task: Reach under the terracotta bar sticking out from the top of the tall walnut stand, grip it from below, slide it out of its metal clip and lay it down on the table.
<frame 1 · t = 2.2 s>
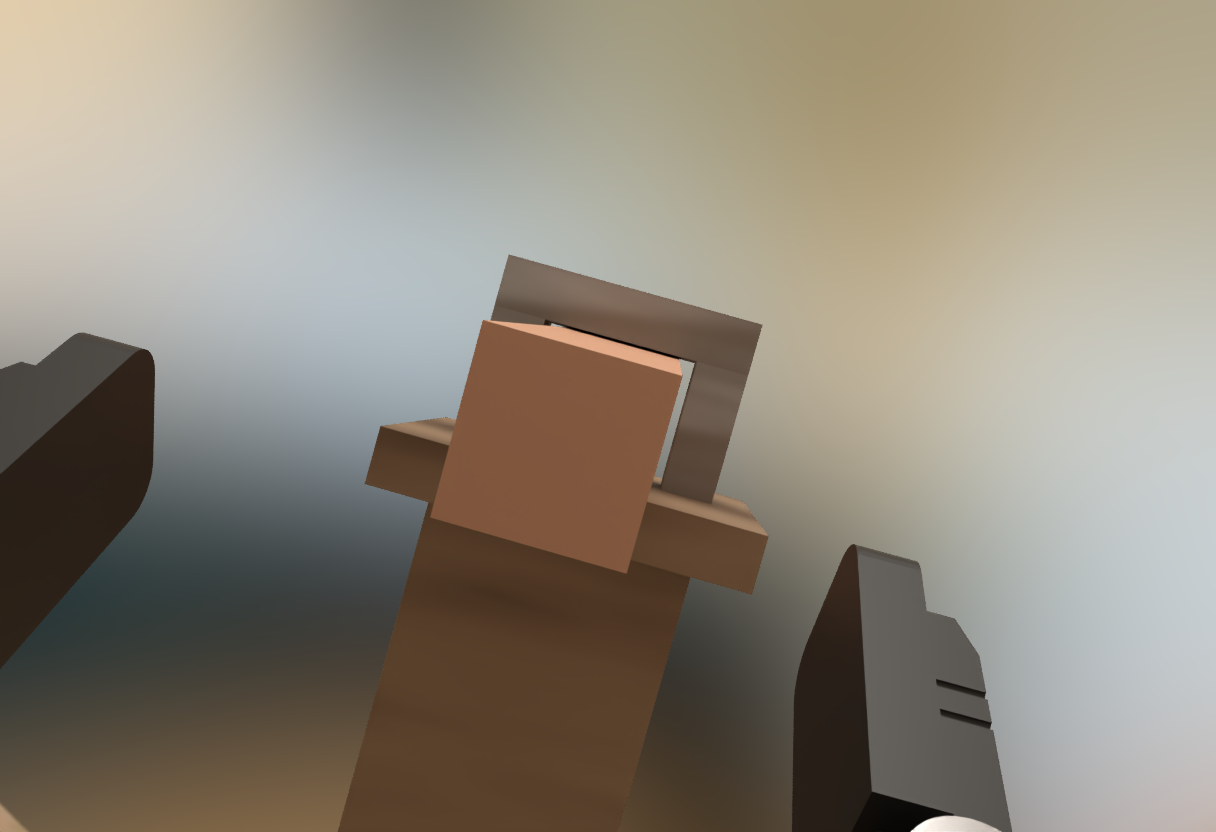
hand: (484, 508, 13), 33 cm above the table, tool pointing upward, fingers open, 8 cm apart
terracotta bar: (569, 485, 28), point 32 cm above the table, touching walnut stand
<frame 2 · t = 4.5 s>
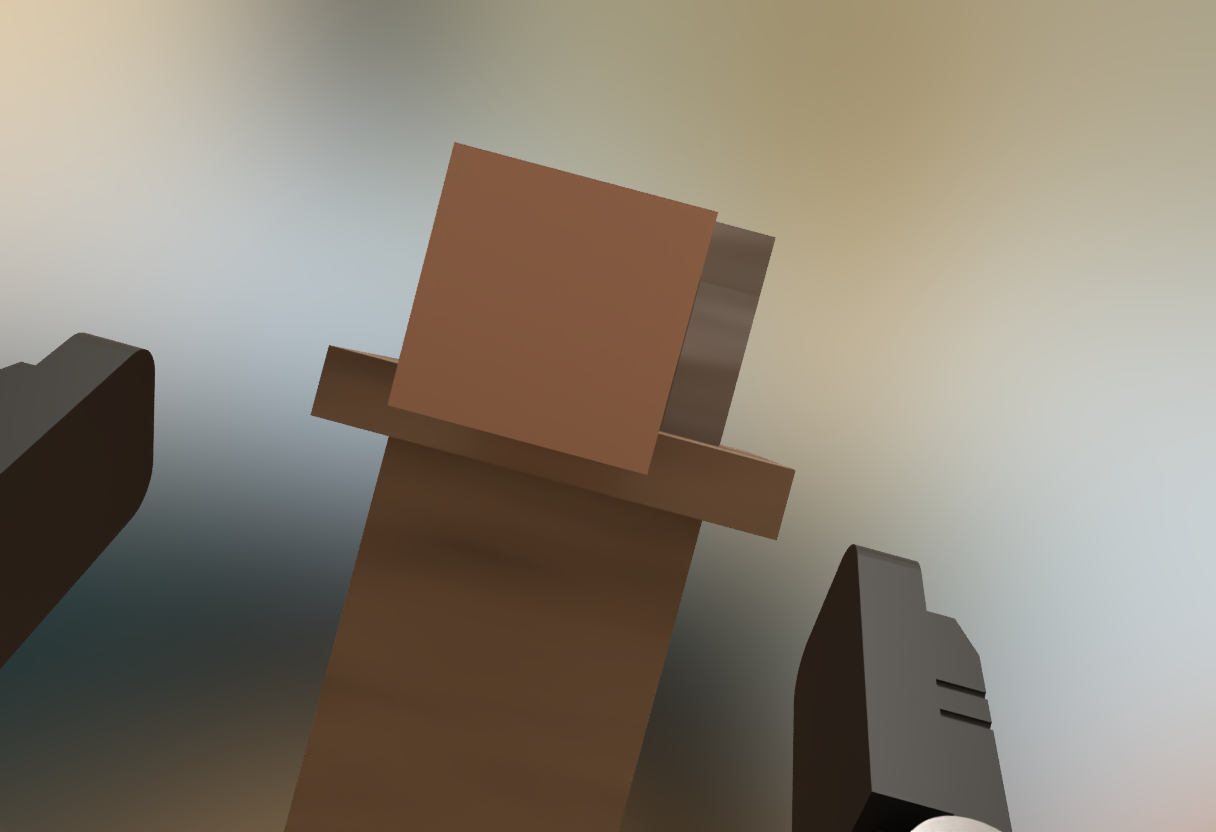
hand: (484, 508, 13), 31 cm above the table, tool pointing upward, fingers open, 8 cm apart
terracotta bar: (558, 409, 23), point 32 cm above the table, touching walnut stand
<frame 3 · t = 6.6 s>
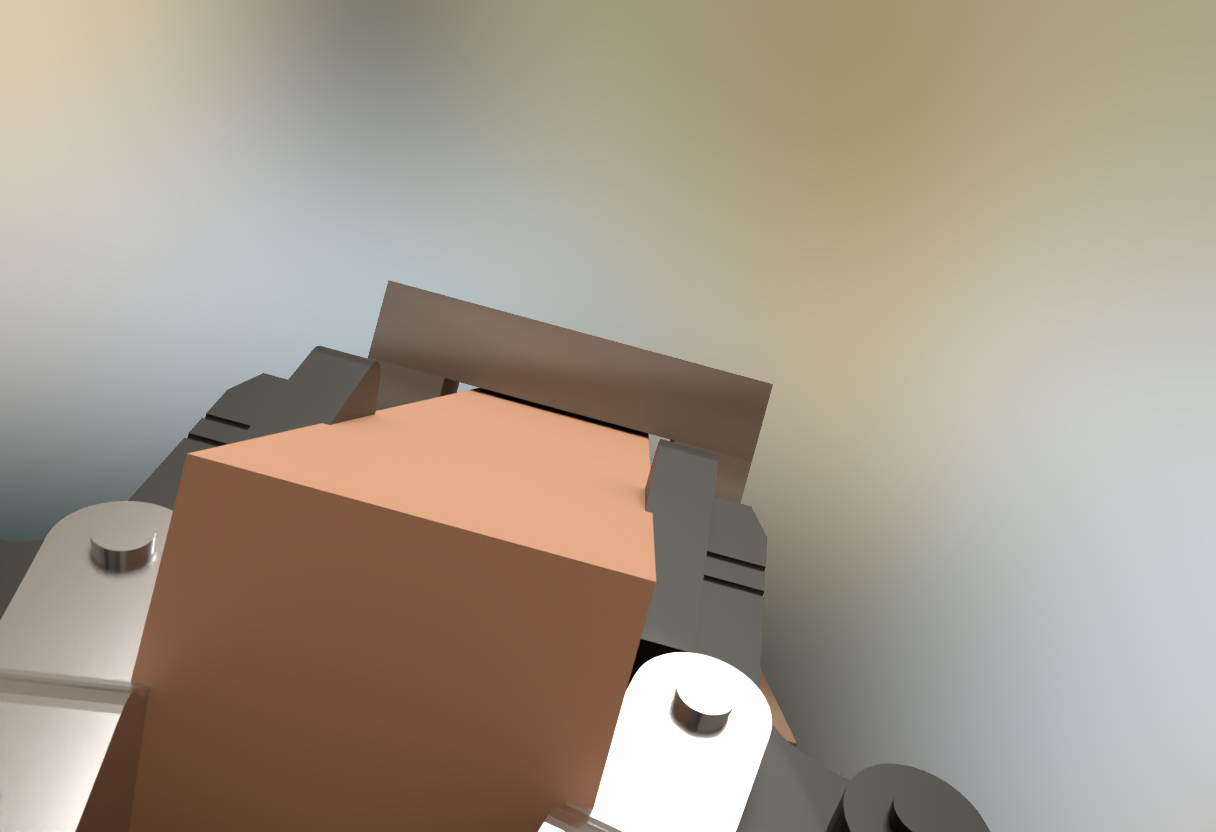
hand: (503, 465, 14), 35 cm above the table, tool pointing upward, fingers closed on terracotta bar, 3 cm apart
terracotta bar: (466, 673, 17), point 32 cm above the table, touching gripper, walnut stand
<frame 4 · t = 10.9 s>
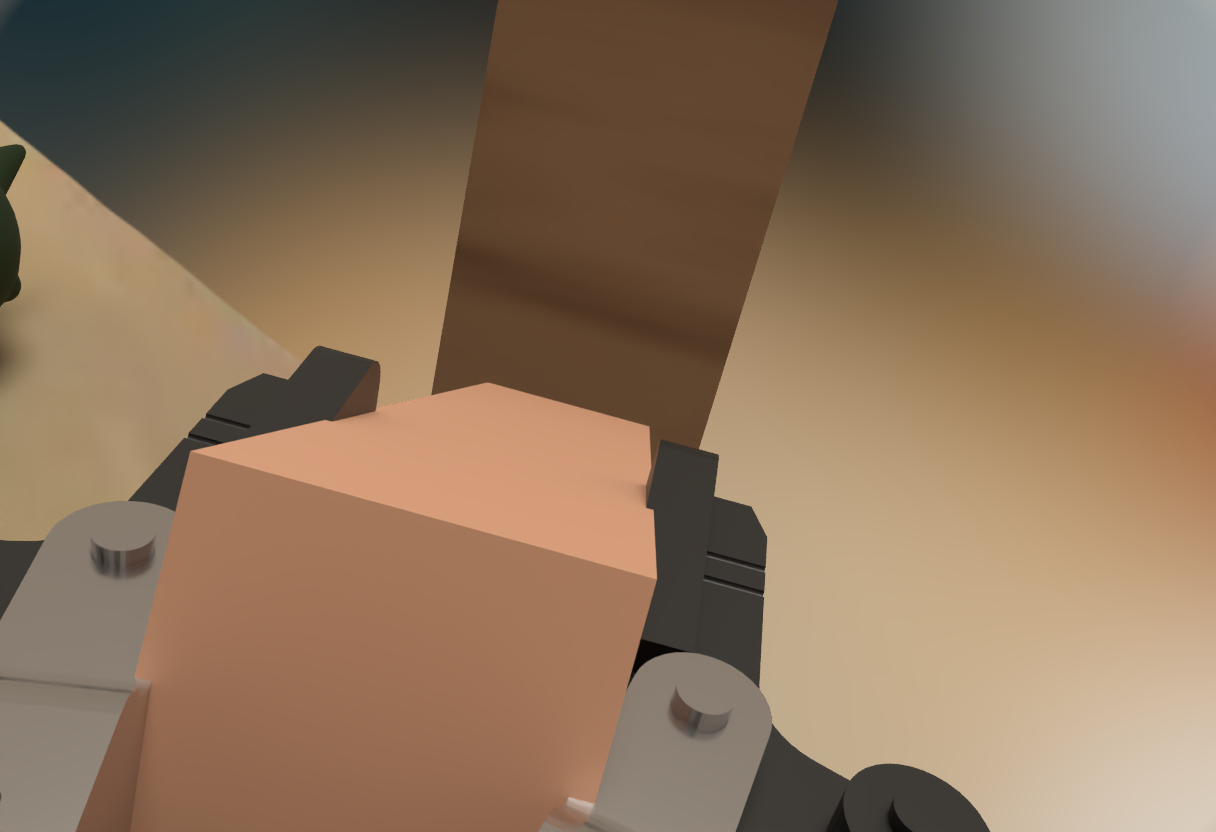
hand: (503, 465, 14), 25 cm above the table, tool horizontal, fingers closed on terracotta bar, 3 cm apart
walnut stand: (483, 779, 41), on the table
terracotta bar: (467, 669, 17), point 21 cm above the table, tilted 26°, touching gripper
when the fingers open (9 cm above the table, at t = 14.2 s): terracotta bar drops 6 cm, on the table.
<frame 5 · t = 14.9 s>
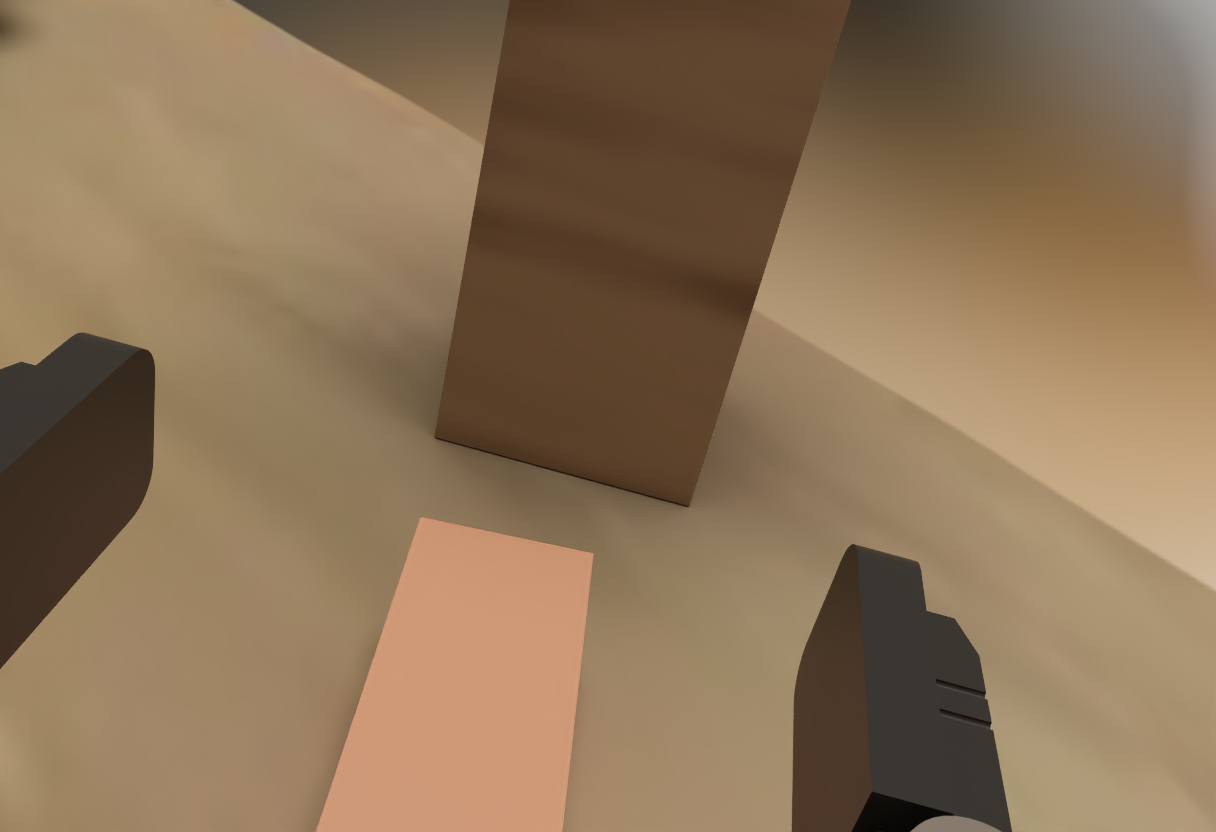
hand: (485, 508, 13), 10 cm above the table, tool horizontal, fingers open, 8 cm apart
walnut stand: (583, 407, 34), on the table
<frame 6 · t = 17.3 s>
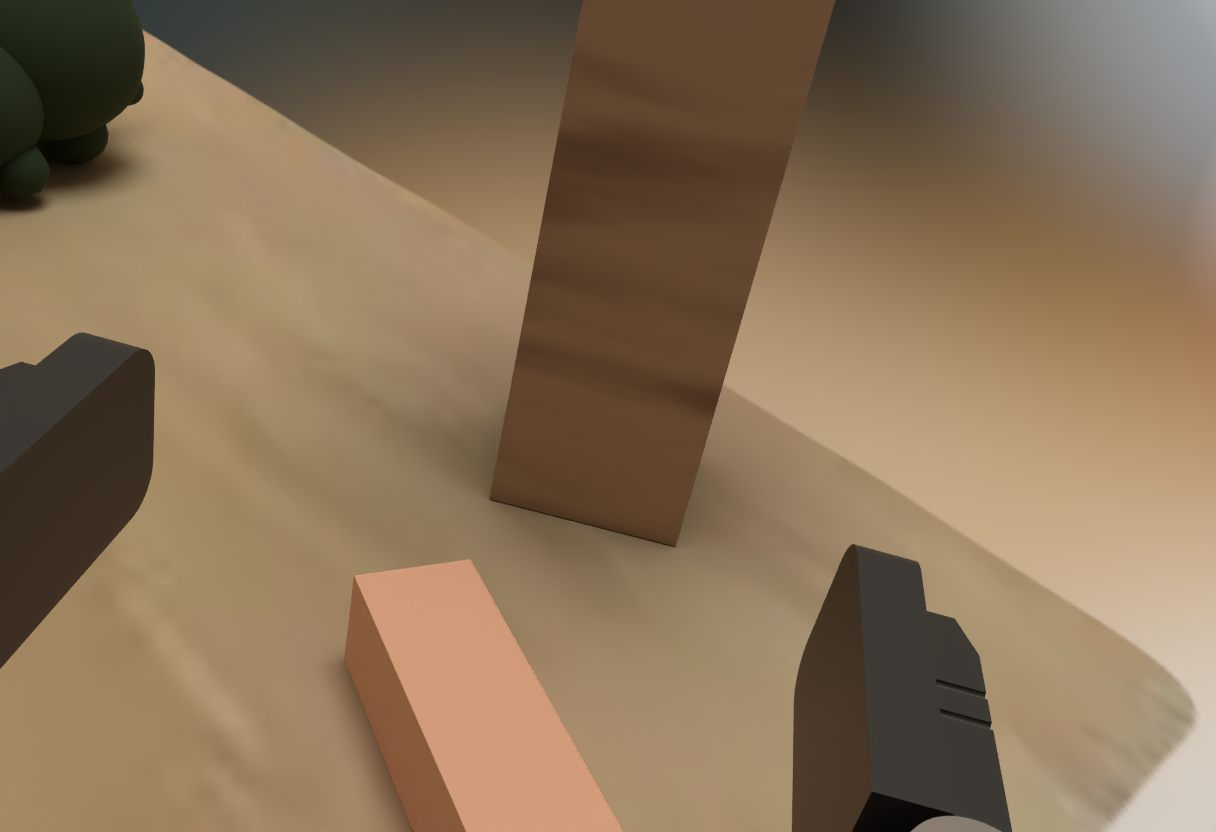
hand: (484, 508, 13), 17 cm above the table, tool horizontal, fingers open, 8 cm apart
walnut stand: (596, 472, 46), on the table
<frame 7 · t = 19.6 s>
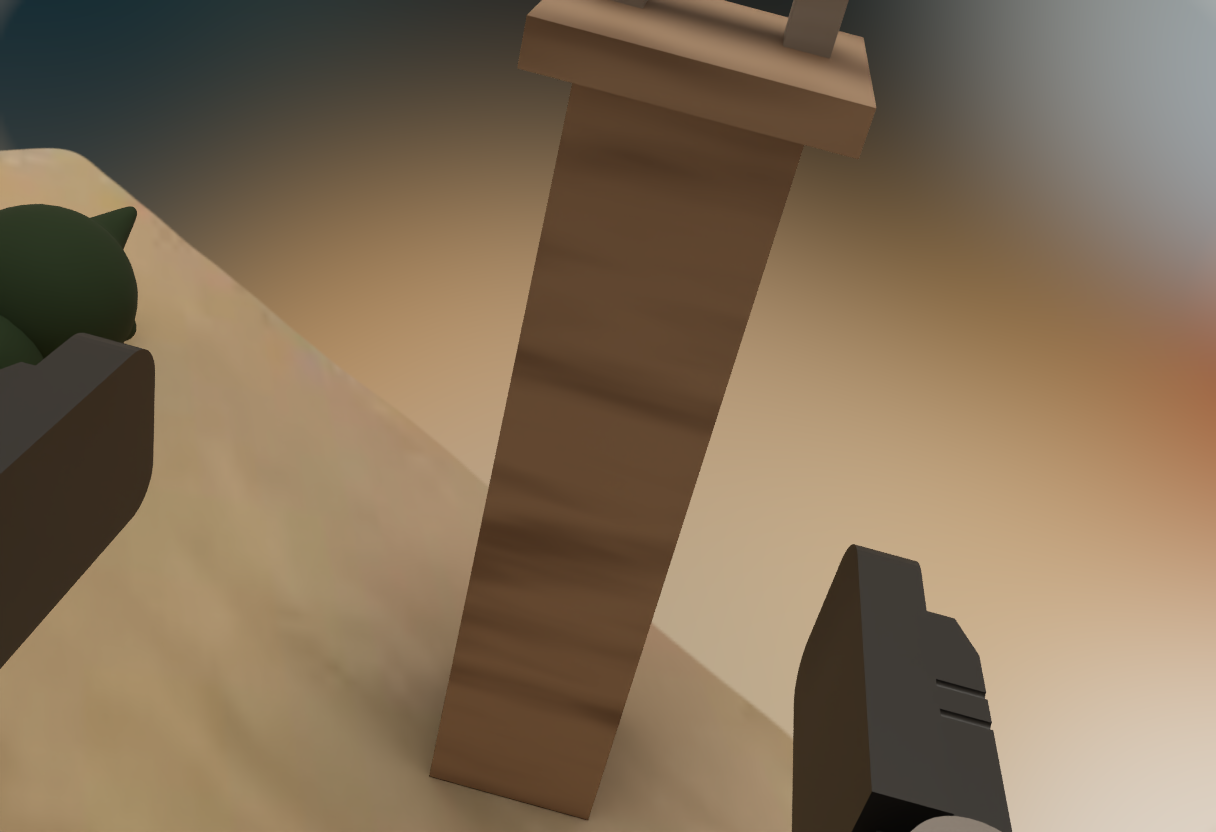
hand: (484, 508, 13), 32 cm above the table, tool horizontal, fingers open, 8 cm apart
walnut stand: (525, 737, 53), on the table
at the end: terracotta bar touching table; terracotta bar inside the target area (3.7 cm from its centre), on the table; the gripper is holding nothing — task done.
